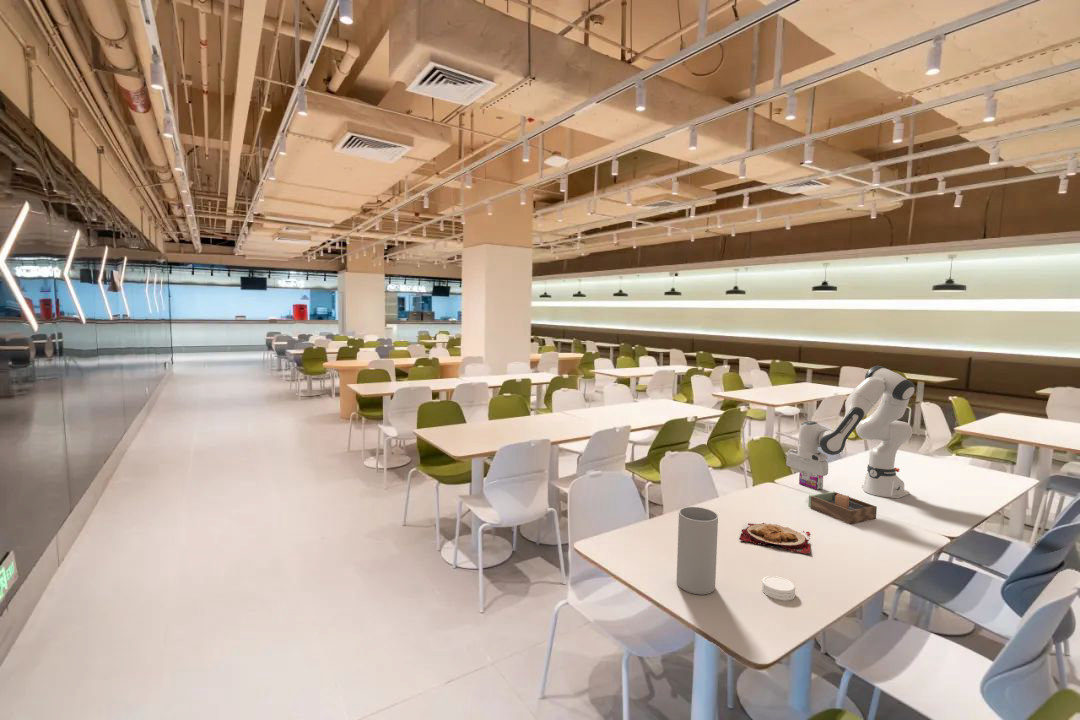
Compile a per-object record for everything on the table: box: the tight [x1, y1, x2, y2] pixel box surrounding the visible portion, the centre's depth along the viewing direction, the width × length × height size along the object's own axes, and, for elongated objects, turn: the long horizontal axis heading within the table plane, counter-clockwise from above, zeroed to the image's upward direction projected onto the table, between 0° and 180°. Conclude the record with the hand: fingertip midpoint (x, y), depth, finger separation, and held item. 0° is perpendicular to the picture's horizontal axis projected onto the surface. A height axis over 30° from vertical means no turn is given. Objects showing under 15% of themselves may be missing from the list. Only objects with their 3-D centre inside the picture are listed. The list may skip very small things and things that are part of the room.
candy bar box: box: [798, 471, 824, 491], centre depth 271 cm, size 11×5×16 cm, turn 25°
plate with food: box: [738, 522, 812, 554], centre depth 206 cm, size 24×26×4 cm
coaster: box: [761, 575, 796, 601], centre depth 164 cm, size 10×10×4 cm
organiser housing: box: [810, 491, 878, 525], centre depth 232 cm, size 17×20×6 cm
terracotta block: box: [835, 493, 850, 509], centre depth 233 cm, size 5×5×6 cm
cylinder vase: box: [676, 506, 719, 596], centre depth 167 cm, size 12×12×25 cm
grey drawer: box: [807, 490, 865, 510], centre depth 234 cm, size 17×20×6 cm
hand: (805, 479), depth 253 cm, fingers closed
